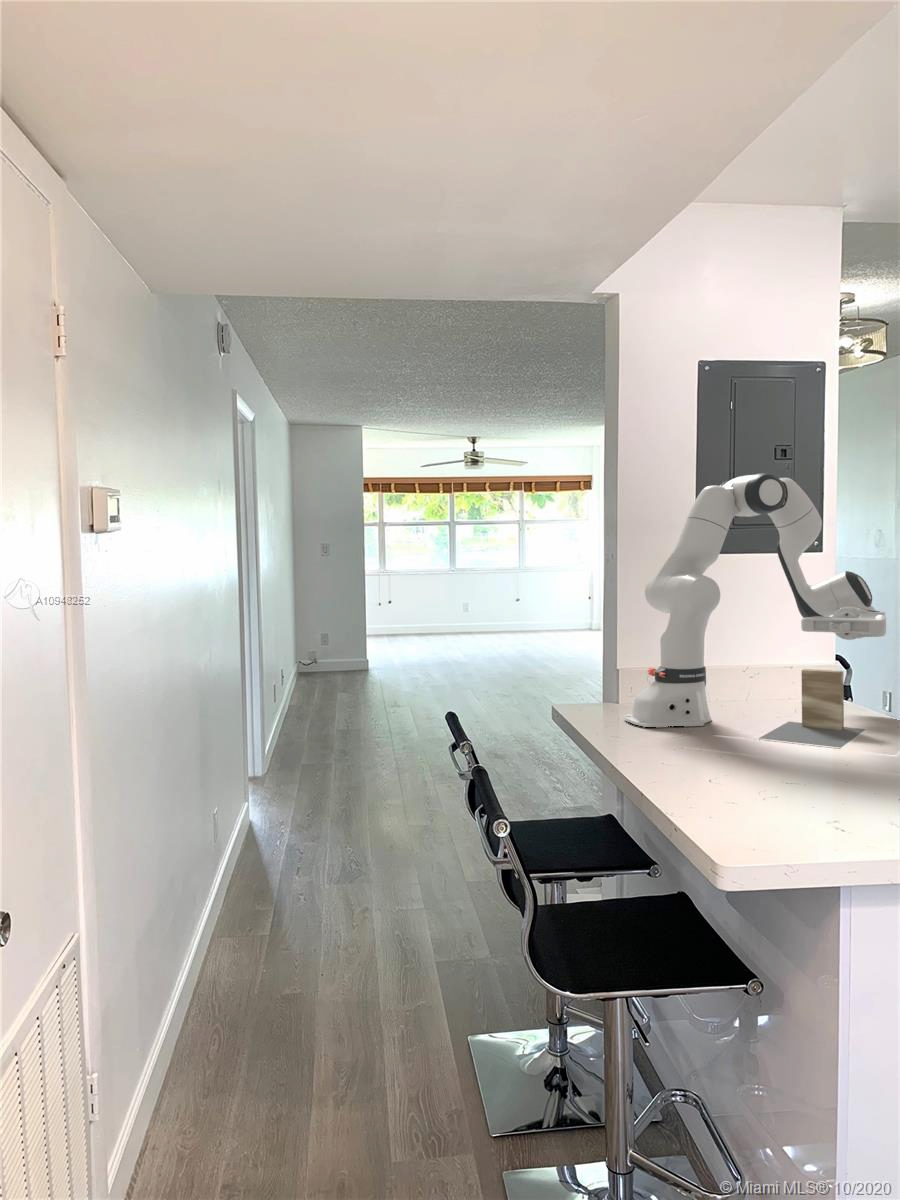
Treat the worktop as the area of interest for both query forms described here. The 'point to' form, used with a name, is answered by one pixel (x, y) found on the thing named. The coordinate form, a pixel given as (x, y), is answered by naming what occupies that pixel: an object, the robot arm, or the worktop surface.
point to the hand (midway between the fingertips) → (835, 627)
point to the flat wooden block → (822, 699)
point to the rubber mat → (812, 735)
